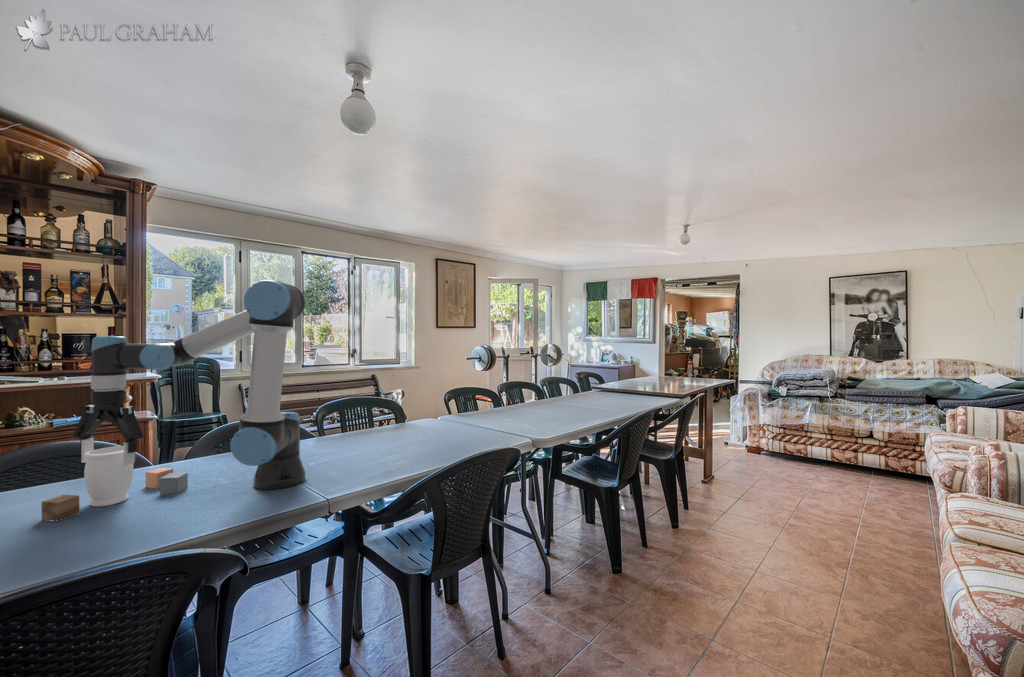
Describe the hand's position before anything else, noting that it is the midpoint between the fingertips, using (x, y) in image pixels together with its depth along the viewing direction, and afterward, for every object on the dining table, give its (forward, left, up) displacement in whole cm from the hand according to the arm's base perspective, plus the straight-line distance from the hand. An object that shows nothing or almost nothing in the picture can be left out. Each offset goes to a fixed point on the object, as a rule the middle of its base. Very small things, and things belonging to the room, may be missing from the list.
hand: (108, 462), depth 128 cm
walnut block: (+2, +11, -11) cm, 16 cm away
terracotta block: (-2, -14, -11) cm, 18 cm away
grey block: (-11, -10, -11) cm, 19 cm away
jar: (0, 0, -12) cm, 12 cm away
